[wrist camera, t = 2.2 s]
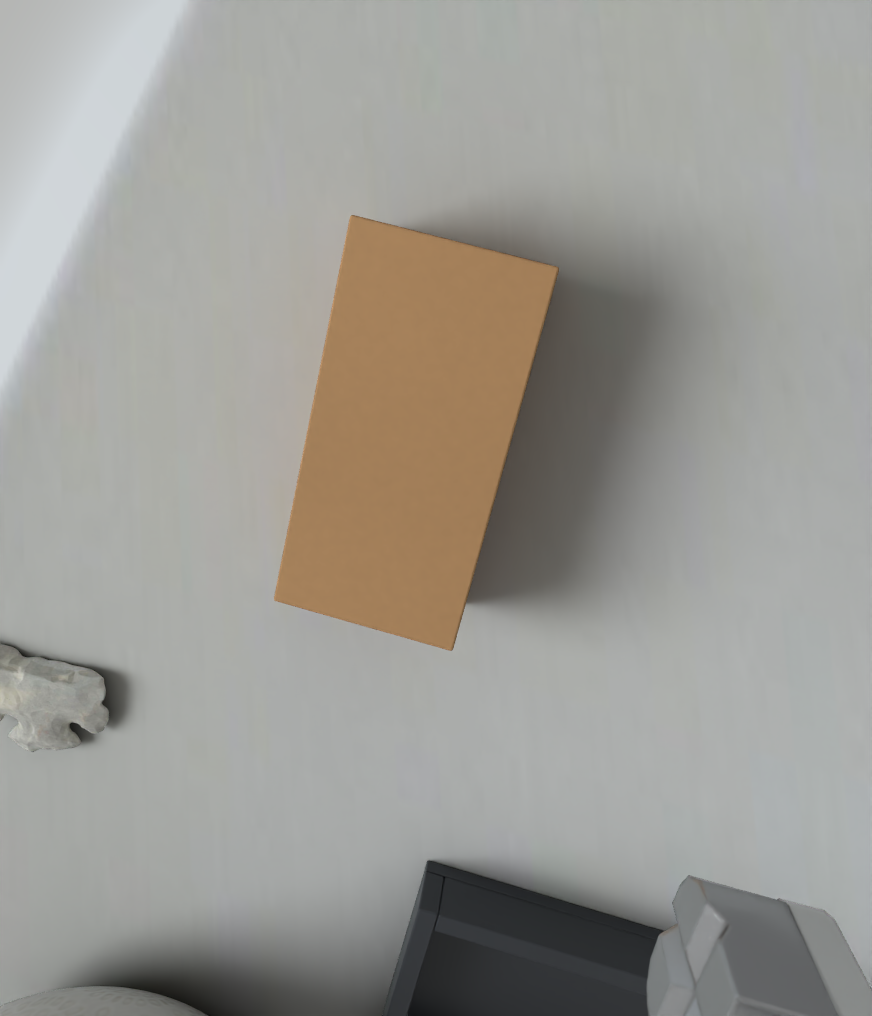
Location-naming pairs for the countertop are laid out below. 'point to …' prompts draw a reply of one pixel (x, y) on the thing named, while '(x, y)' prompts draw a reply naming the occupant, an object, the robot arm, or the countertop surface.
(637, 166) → the countertop surface
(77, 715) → the stone
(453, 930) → the pad base
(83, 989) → the planter
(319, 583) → the pad
